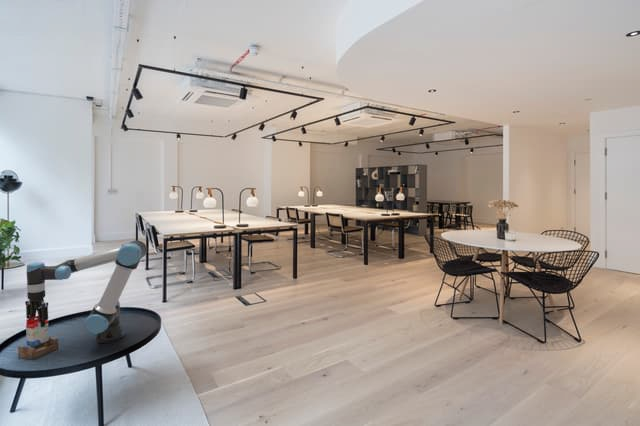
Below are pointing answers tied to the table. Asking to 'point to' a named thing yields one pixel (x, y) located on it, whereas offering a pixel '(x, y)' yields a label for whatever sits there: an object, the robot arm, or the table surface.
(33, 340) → the red white carton
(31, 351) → the wooden crate
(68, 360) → the table surface
